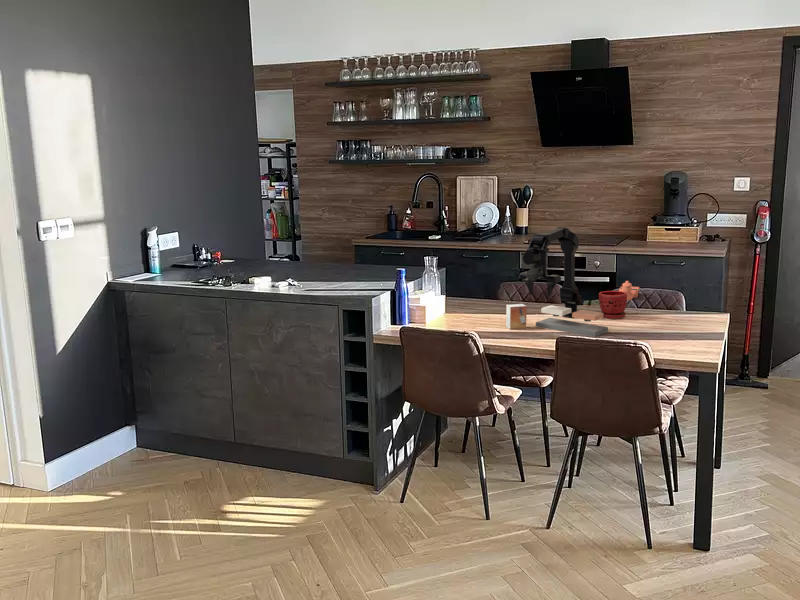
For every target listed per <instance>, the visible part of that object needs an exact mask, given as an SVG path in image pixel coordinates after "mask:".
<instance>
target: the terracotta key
mask: <svg viewBox="0 0 800 600" xmlns="http://www.w3.org/2000/svg"><path fill="white" fill-rule="evenodd" d="M603 314H604V313H601V312H598V311H592V310H586V309H580V310H577V311H576V312H573V313H572V317H573V318H572V319H575V318H576V319H580V320H583V321H584V322H593V321H595V322H596V321H598V320H601V319H603V318H604V317H603Z"/></svg>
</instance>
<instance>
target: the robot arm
mask: <svg viewBox="0 0 800 600" xmlns="http://www.w3.org/2000/svg"><path fill="white" fill-rule="evenodd" d="M556 240H557V241H558V243H559V244H560V249H561V250H560V251H562V253H563V285H562V286H561V287H560V288H559V298H560V303H561V304H563V305H564V307H565V308H572V309H571V313H569V314H566V315H563V316H562V317H563V318H571V319H574V318H573V317H572V313H573V312H576V311H578V306H581V305H582V302H583V299H582V298H581V296H580V294H579V288H578V287H577V285H576V282H575V281H576V280H575V278H576V277H575V271H576V266H575V265H576V264H575V263H576V259H575V258H576V256H575V255H576V252H577V251H578V250H579V245H580V239H579V237H578V236H577V234H575V232H572V231H571V230H570V229H569V228H568V227H563V226H558V227H557V228H555V229H552V230H550V231H547V232H544V233H541V232H540V233H534V234H533V235H532V237H531V240H530V242H529V244H528V247H527V249H526V252H524V253H523V255H522V262H523V263H524V264H525V265H526V266H527V265H528V266H529V265H531V268H530V269H529V270H527V271H524V272H520V273H519V279H520V280H521V281H522V282H524V283H525V285H526V287H527V290H528V293H529V295H531V296H532V295H533V293H534V292H533V291H534V283H535V281H537V280H541V281H542V280H543V281H546V286H547V292H546V295H547V298H550V296H552V295H551V294H552V293H553V291H554V288H555V287H556V285H557V284H559V283H560V282H562V276H561V275H560V274H551V275H549V272H548V269H547V268H548V267H549V263H548V252H549V251H550V249H549V248H548V247H549V246H550V245H552V242H554V241H556Z"/></svg>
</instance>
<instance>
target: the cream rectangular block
mask: <svg viewBox="0 0 800 600" xmlns="http://www.w3.org/2000/svg"><path fill="white" fill-rule="evenodd" d="M571 309H572V308H565V306H556V305H547V306H543V307H541V309H540V311H541V312H540V313H542V314H548V315H549V314H550V315H552V317H555V318H556V317H560V316H561V317H563V315H566V314H569V313H571Z"/></svg>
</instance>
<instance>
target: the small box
mask: <svg viewBox="0 0 800 600" xmlns="http://www.w3.org/2000/svg"><path fill="white" fill-rule="evenodd" d="M527 311H528V310H527V305H525V304H523V303H517V304H506V315H505V317H506V318H505V319H506V320H505V326H506V327H507V328H508V329H509V330H513V329H514V330H515V329H516V330H517V329H521V330H522V329H527V317H528V316H527V314H528V313H527ZM506 327H505V328H506Z"/></svg>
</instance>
